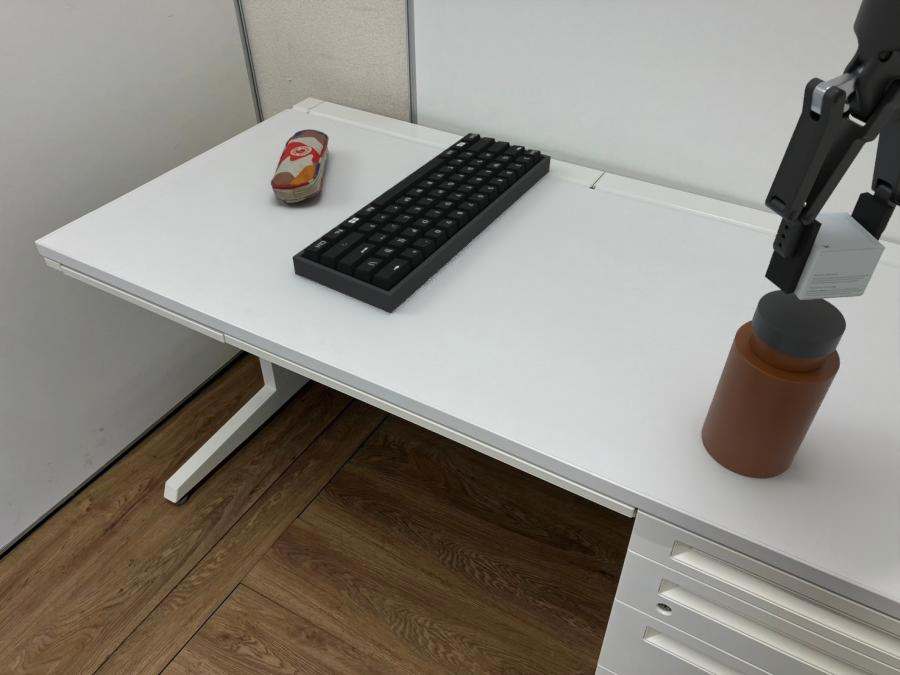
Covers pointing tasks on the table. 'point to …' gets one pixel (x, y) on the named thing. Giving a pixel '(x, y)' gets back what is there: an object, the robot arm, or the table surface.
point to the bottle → (773, 384)
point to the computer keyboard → (421, 221)
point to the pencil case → (301, 166)
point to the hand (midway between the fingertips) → (813, 275)
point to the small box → (839, 259)
